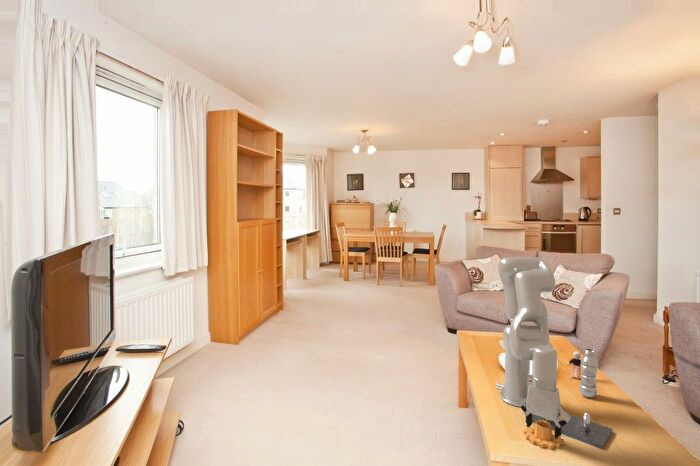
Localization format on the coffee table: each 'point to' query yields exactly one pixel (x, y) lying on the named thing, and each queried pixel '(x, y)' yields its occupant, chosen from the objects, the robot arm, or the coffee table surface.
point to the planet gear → (542, 435)
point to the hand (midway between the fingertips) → (543, 431)
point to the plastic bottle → (589, 374)
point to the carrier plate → (582, 429)
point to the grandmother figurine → (575, 365)
